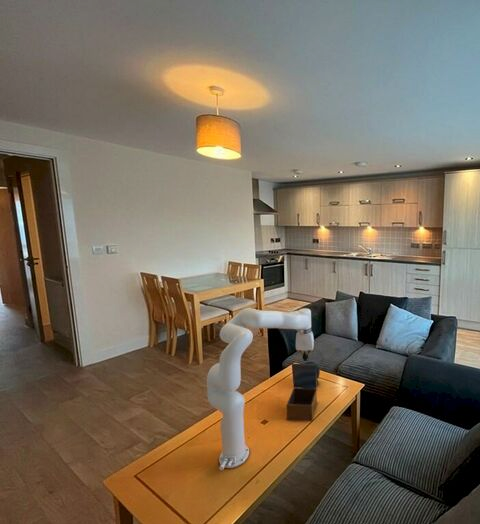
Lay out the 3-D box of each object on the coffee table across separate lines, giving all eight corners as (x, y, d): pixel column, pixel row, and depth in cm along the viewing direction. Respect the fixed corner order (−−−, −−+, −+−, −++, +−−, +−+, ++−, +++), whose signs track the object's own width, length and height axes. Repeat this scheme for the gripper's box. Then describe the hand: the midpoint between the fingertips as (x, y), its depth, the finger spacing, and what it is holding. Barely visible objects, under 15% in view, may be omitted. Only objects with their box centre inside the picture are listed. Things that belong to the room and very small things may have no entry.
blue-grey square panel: (315, 365, 161) (315, 364, 162) (291, 364, 162) (291, 363, 162) (316, 388, 166) (316, 387, 167) (293, 387, 167) (293, 386, 168)
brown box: (311, 420, 153) (311, 405, 151) (286, 419, 153) (286, 404, 152) (316, 402, 168) (316, 388, 167) (294, 401, 169) (293, 387, 167)
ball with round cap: (310, 392, 177) (310, 370, 175) (295, 385, 184) (294, 364, 182) (323, 382, 188) (323, 361, 186) (308, 376, 195) (308, 356, 193)
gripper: (290, 332, 160) (291, 362, 163) (316, 333, 160) (317, 363, 162) (293, 327, 168) (294, 356, 171) (318, 327, 167) (319, 357, 170)
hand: (305, 359), depth 167 cm, fingers closed
